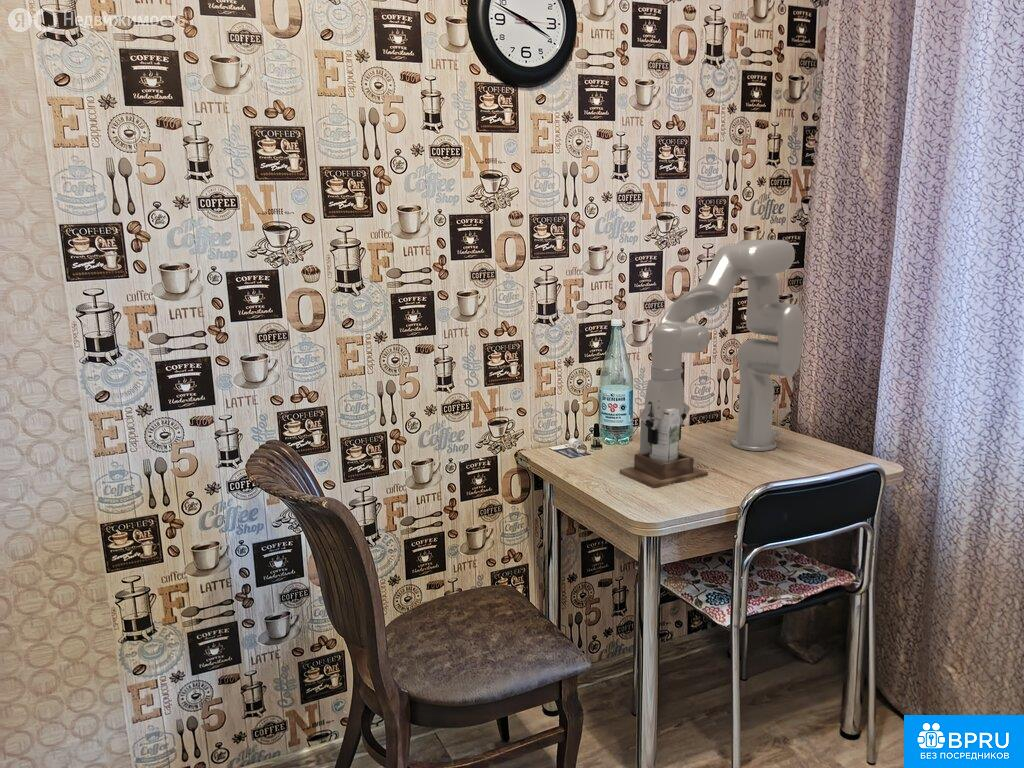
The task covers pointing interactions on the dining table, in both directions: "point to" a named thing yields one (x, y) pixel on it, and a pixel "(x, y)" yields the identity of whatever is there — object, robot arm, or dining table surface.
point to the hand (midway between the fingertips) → (664, 440)
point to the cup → (644, 438)
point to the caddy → (662, 470)
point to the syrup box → (666, 437)
